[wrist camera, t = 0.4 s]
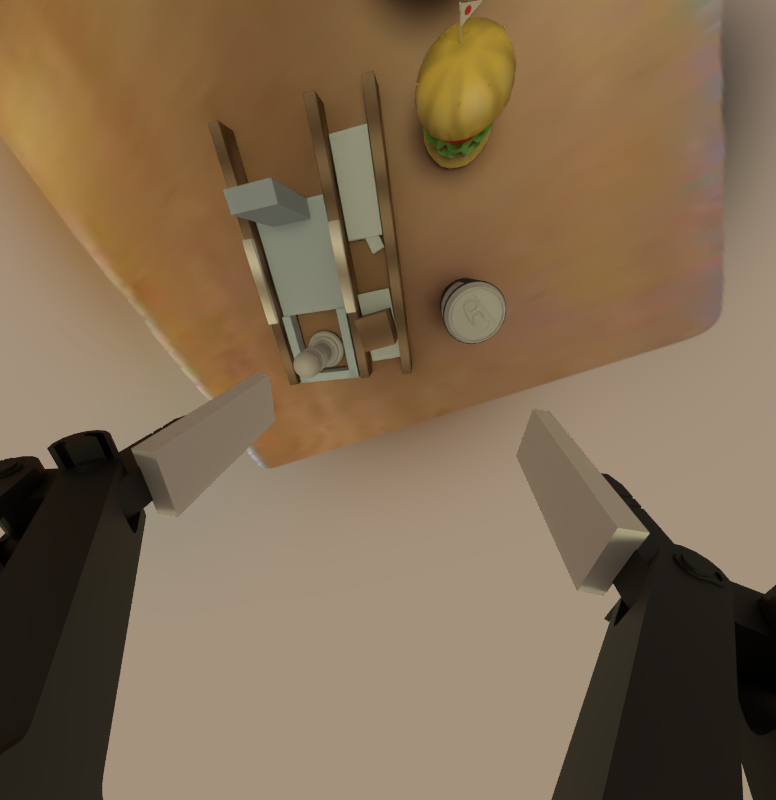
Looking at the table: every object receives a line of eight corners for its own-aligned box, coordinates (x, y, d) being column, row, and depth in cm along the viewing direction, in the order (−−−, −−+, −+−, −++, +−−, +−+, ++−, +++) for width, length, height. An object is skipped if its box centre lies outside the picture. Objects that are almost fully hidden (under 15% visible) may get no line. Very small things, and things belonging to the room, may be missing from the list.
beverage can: (452, 332, 37) (461, 357, 26) (432, 295, 36) (432, 305, 25) (493, 309, 35) (520, 326, 24) (473, 268, 34) (492, 266, 23)
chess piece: (342, 369, 42) (321, 393, 34) (308, 360, 42) (279, 382, 34) (347, 335, 39) (326, 351, 31) (311, 326, 40) (281, 340, 31)
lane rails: (223, 133, 31) (203, 120, 29) (378, 86, 28) (372, 66, 25) (297, 378, 43) (288, 386, 41) (412, 367, 40) (410, 374, 37)
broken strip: (331, 139, 30) (327, 134, 29) (372, 127, 29) (370, 122, 28) (371, 359, 40) (369, 361, 39) (402, 355, 39) (401, 357, 38)
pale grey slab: (258, 212, 34) (204, 194, 26) (326, 196, 32) (291, 171, 24) (306, 378, 43) (277, 403, 35) (361, 373, 41) (344, 398, 33)
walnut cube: (361, 316, 37) (354, 320, 33) (390, 307, 36) (385, 311, 32) (371, 344, 38) (364, 352, 35) (398, 337, 37) (395, 344, 34)
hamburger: (431, 188, 31) (431, 145, 20) (408, 110, 28) (394, 13, 18) (502, 150, 29) (544, 78, 18) (483, 62, 26) (519, -82, 15)
